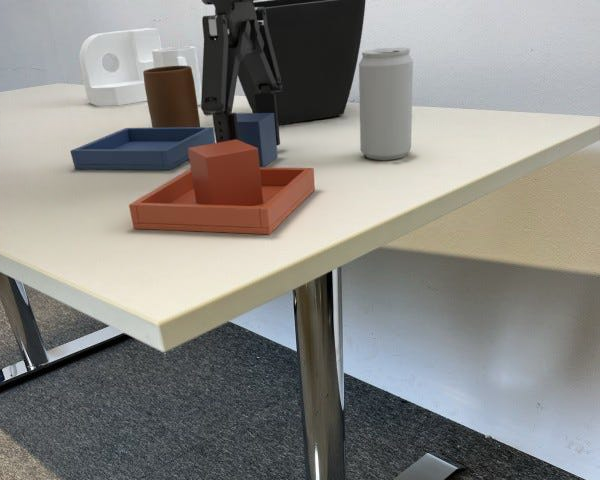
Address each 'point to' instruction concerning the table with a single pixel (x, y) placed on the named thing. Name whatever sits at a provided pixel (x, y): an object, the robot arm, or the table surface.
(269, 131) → the blue block
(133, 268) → the table surface
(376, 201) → the table surface
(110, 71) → the tape dispenser
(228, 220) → the terracotta tray
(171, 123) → the mug
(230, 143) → the terracotta block
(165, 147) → the blue tray
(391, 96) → the beverage can
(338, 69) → the flower pot
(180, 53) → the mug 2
